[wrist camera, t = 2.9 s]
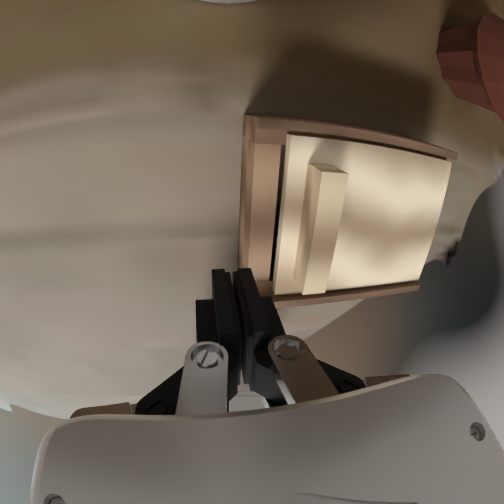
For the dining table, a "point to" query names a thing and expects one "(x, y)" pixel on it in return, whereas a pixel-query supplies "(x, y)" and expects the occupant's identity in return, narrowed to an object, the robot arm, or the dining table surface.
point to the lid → (354, 214)
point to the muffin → (475, 61)
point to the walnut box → (270, 191)
